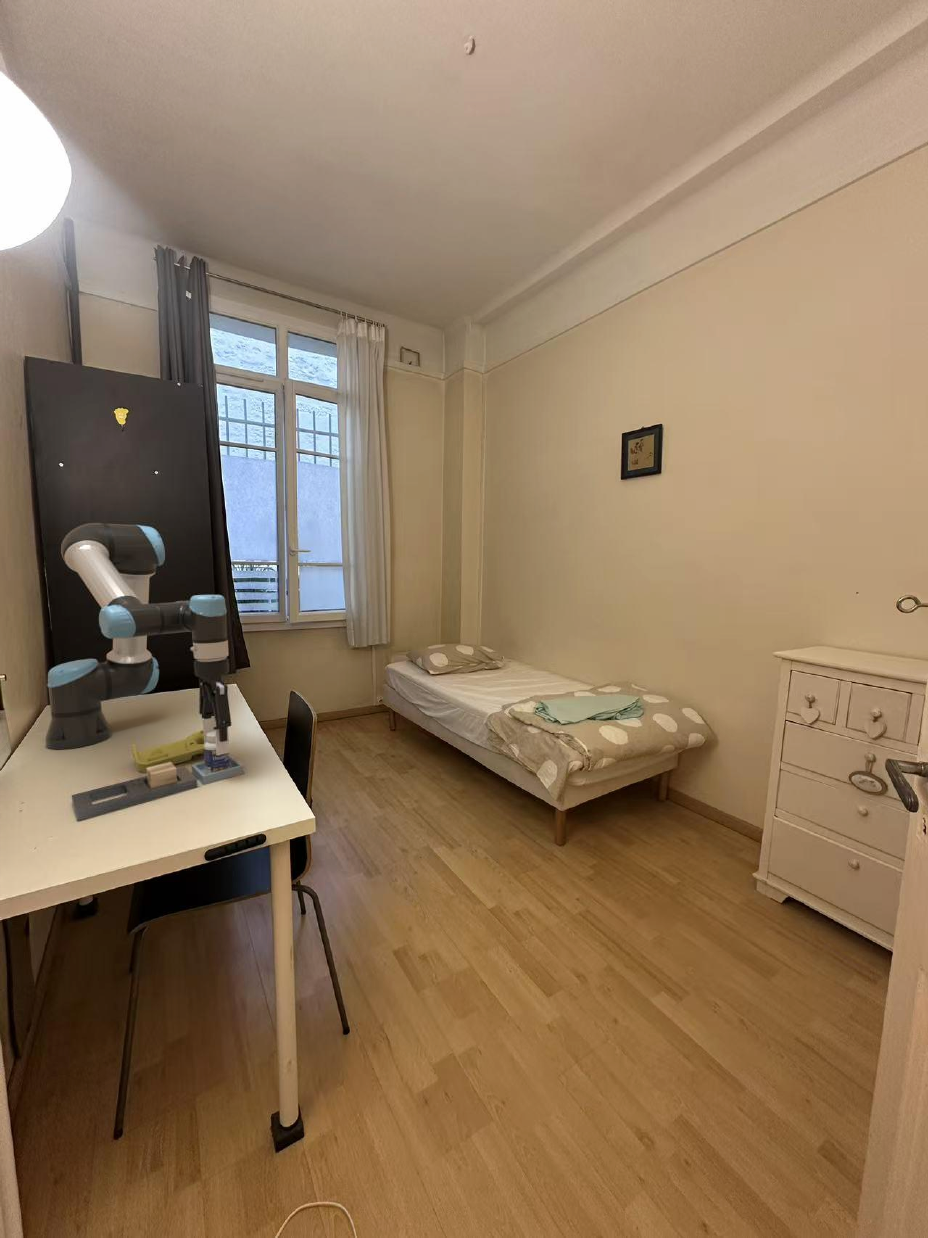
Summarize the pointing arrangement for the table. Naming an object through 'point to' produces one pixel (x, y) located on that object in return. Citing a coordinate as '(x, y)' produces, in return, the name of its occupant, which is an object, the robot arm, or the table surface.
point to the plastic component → (170, 752)
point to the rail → (128, 794)
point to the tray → (205, 778)
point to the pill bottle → (214, 756)
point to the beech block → (161, 775)
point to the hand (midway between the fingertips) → (216, 748)
